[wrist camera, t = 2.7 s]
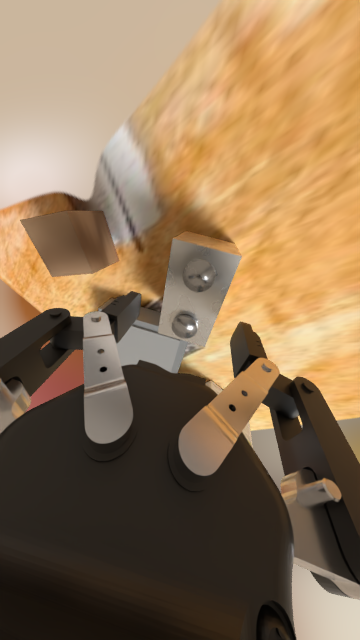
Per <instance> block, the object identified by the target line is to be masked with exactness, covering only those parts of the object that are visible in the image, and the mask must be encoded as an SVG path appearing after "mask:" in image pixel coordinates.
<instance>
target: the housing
mask: <svg viewBox="0 0 360 640" xmlns="http://www.w3.org/2000/svg"><path fill="white" fill-rule="evenodd" d="M241 257H242V256H241V254H240V252H239V250H238V248H237V247H236V245H235V243H231V242H228V241H224V240H220V239H216V238H212V237H208V236H204V235H200V234H197V233H193V232H189V231H185V232H183V233H182V234H180V235H178V236H176V237H174V238H173V240H172V246H171V253H170V259H169V265H168V272H167V278H166V284H165V291H164V297H163V303H162V310H161V316H160V322H159V329H158V333H159V334H163V335H166V336H170V337H173V338H176V339H180V340H183V341H187V342H190V343H194V344H197V345H200V346H204V347H205V345H206V342H207V340H208V337H209V335H210V332H211V330H212V328H213V325H214V323H215V320H216V318H217V315H218V313H219V311H220V308H221V306H222V303H223V301H224V298H225V296H226V294H227V291H228V289H229V286H230V284H231V282H232V279H233V277H234V274H235V272H236V269H237V267H238V265H239V262H240V260H241Z"/></svg>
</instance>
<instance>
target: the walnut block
mask: <svg viewBox="0 0 360 640" xmlns="http://www.w3.org/2000/svg"><path fill="white" fill-rule="evenodd" d="M20 221H21V223H22V225H23V226H24V228H25V230H26V232H27V233H28V235H29V237H30V239H31V241H32V242H33V244H34V246H35V248H36V249H37V251H38V253H39V255H40V256H41V258H42V260H43V262H44V263H45V265H46V267H47V269H48V270H49V272H50V274H51V276H52V277H57V276H69V275H80V274H92V273H95V272H97V271H99V270H101V269H103V268H105V267H107V266H109V265H111V264H114V263H116V262H118V261H119V259H118V256H117V252H116V249H115V246H114V243H113V240H112V237H111V234H110V231H109V228H108V225H107V221H106V218H105V215H104V212H103V211H62V212H57V213H52V214H47V215H42V216H38V217H33V218H28V219H23V220H20Z"/></svg>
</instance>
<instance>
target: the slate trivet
mask: <svg viewBox="0 0 360 640" xmlns="http://www.w3.org/2000/svg"><path fill="white" fill-rule="evenodd" d="M114 300H115V299H113V298H111V299H109V300H108V301H107V302H105V303H104V304H103V305H102V306H100V307H99V308H98V311H99V312H100V311H102V310H103V309H104V308H105V307H106V306H108V305H109V304H111V302H113V301H114ZM160 316H161V312H157V311H154V310H151V309H147V308H144V307H140V314H139V316H138V318H137V319H136V321H135V322H134V323H133V324H132V326H131V327H130V328H129V330H128V331H127V332H126V334H125V335H124V336H123V337H122V339H121V340H120V341H119V343H116V346H117V350H118V355H119V359H120V363H121V366H124V365H130V364H137V363H138V361H139V360H143V361H146V362H150V363H153V364H156V365H158V366H160V367H161V368H163V369H165V370H167V371H169V372H171V373H178V370H179V368H180V365H181V362H182V359H183V356H184V353H185V350H186V347H187V344H188V342H187V341H183V340H180V339H176V338H173V337H170V336H166V335H163V334H159V333H158V329H159V322H160Z"/></svg>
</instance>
